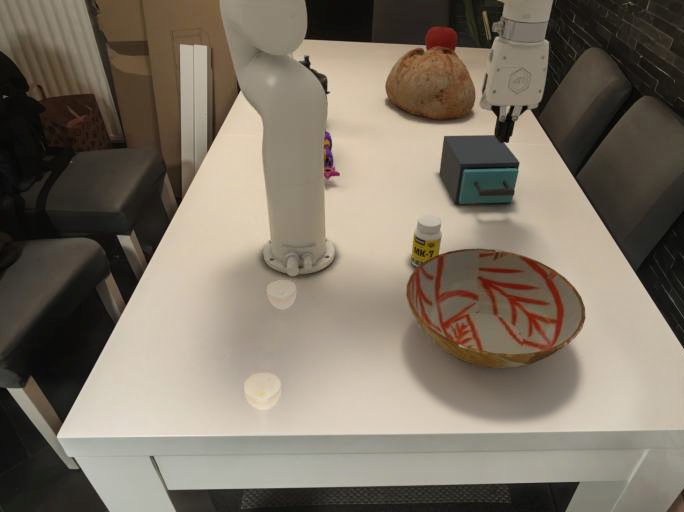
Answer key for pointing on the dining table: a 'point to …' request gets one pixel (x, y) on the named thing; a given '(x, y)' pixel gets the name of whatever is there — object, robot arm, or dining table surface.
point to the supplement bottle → (426, 239)
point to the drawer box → (471, 159)
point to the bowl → (494, 307)
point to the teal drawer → (488, 185)
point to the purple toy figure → (328, 157)
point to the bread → (431, 84)
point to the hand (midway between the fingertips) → (502, 140)
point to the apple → (441, 38)
